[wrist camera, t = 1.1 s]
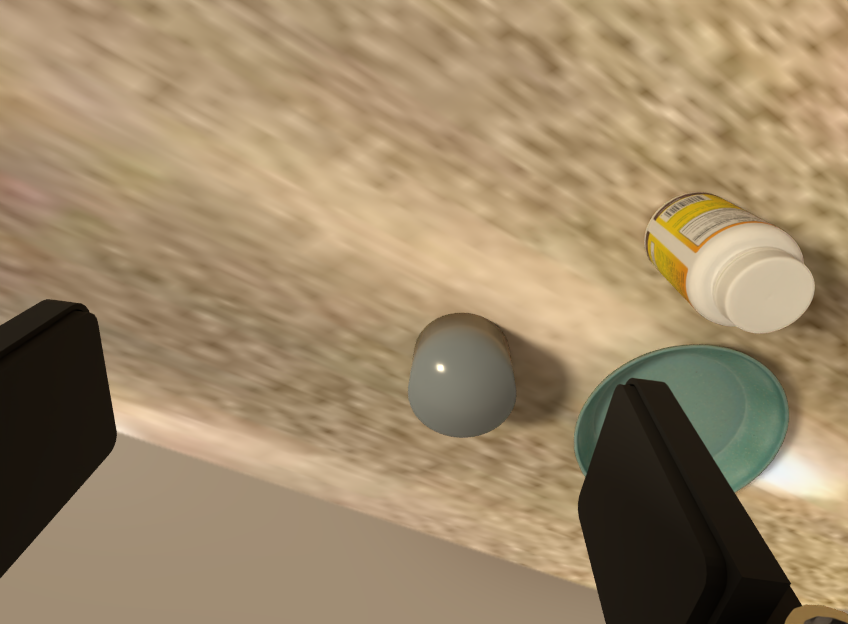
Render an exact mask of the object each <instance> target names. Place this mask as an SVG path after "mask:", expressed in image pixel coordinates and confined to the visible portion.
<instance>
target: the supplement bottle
mask: <svg viewBox="0 0 848 624" xmlns="http://www.w3.org/2000/svg"><path fill="white" fill-rule="evenodd" d="M644 244H645V250H646V254H647V256H648V258H649V260H650V262H651V263H652V264H653V266H654V267H655V268H656V269H657V270H658V271H659V272H660V273H661V274H662V275H663V276H664V277H665V278H666V279H667V280H668V281H669V282H670V283H671V284H672V286H673V287H674V288H675V289H676V290H677V291H678V292H679V293H680V294H681V295H682V296H683V297H684V298H685V299H686V300H687V301H688V302H689V303H690V305H691V306H692V307H693V308H694V309H695V310H696V311H697V312H698V313H699V314H700V315H702V316H703V317H704V318H706V319H708V320H709V321H711V322H714V323H716V324H720V325H724V326H732V327H738V328H740V329H742V330H744V331H747V332H751V333H770V332H774V331H777V330H780V329H782V328H785V327H787V326H788V325H790V324H792V323H793V322H795V321H796V320H797V319H798V318H799V317H800V316H801V315H802V314H803V313H804V312H805V311H806V310H807V308H808V307H809V305H810V303H811V301H812V299H813V296H814V291H815V283H814V278H813V275H812V273H811V272H810V270H809V269H808V268H807V266H806V265H804V260H803V255H802V252H801V250H800V247H799V246H798V244H797V243H796V241H795V240H794V239H793V238H792V237H791V236H790V235H789V234H787V233H786V232H784V231H783V230H782V229H780V228H778V227H776V226H774V225H772V224H770V223H768V222H766V221H764V220H762V219H760V218H758V217H756V216H754V215H753V214H751V213H749V212H747V211H745V210H743V209H741V208H739V207H737V206H735V205H733V204H732V203H730V202H728V201H726V200H724V199H722V198H720V197H718V196H716V195H713V194H709V193H704V192H692V193H686V194H683V195H679V196H677V197H675V198H673V199H671V200H669V201H668V202H666V203H665V204H664V205H662V206H661V207H660V208H659V209H658V210H657V211H656V213H655V214H654V215H653V216H652V218H651V220H650V221H649V224H648V226H647V229H646V232H645V238H644Z"/></svg>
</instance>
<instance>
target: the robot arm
mask: <svg viewBox="0 0 848 624" xmlns="http://www.w3.org/2000/svg"><path fill="white" fill-rule="evenodd" d="M116 436H117V431H116V425H115V419H114V413H113V408H112V402H111V396H110V390H109V384H108V378H107V373H106V367H105V361H104V355H103V349H102V343H101V338H100V332H99V326H98V321H97V318H96V317H95V315H94V314H92V313H89V310H88V309H87V307H86V306H85V305H83V304H81V303H73V302H66V301H58V300H50V299H46V300H44V301H41V302H39V303H38V304H36V305H34V306H33V307H31V308H29V309H28V310H26V311H24V312H22V313H21V314H19V315H17V316H16V317H14V318H12V319H11V320H9V321H7V322H6V323H4V324H2V325H0V578H1V577H2V576H3V575H4V573H5V572H6V571H7V570H8V569H9V568H10V567H11V565H12V564H13V563H14V562H15V561H16V560H17V559H18V558H19V556H20V555H21V554H22V553H23V552H24V551H25V550H26V548H27V547H28V546H29V545H30V544H31V543H32V542H33V541H34V539H35V538H36V537H37V536H38V535H39V534H40V533H41V531H42V530H43V529H44V528H45V527H46V526H47V525H48V523H49V522H50V521H51V520H52V519H53V518H54V517H55V515H56V514H57V513H58V512H59V511H60V510H61V509H62V508H63V506H64V505H65V504H66V503H67V502H68V501H69V500H70V498H71V497H72V496H73V495H74V494H75V493H76V492H77V490H78V489H79V488H80V487H81V486H82V485H83V484H84V482H85V481H86V480H87V479H88V478H89V477H90V476H91V474H92V473H93V472H94V471H95V470H96V469H97V468H98V466H99V465H100V464H101V463H102V462H103V461H104V460H105V459H106V457H107V456H108V455H109V454H110V453H111V451H112V449H113V447H114V445H115V442H116ZM578 514H579V519H580V523H581V527H582V531H583V535H584V539H585V543H586V547H587V551H588V555H589V559H590V563H591V567H592V571H593V575H594V579H595V583H596V587H597V591H598V594H599V598H600V602H601V606H602V610H603V614H604V618H605V622H606V624H848V614H847V613H845V612H843V611H839V610H836V609H833V608H830V607H826V606H822V605H804V606H802V605H801V603H800V601H799V600H798V598H797V596H796V595H795V593H794V592H793V590H792V588H791V587H790V584H791V583H790V581H789V580H788V578H787V576H786V575H785V573H784V572H783V570H782V568H781V567H780V565H779V563H778V562H777V560H776V559H775V557H774V555H773V554H772V552H771V551H770V549H769V547H768V546H767V544H766V543H765V541H764V539H763V538H762V536H761V535H760V533H759V531H758V530H757V528H756V526H755V525H754V523H753V522H752V520H751V518H750V517H749V515H748V514H747V512H746V510H745V509H744V507H743V506H742V504H741V502H740V501H739V499H738V497H737V496H736V494H735V493H734V491H733V489H732V488H731V486H730V485H729V483H728V481H727V480H726V478H725V477H724V475H723V473H722V472H721V470H720V469H719V467H718V465H717V464H716V462H715V460H714V459H713V457H712V456H711V454H710V452H709V451H708V449H707V448H706V446H705V444H704V443H703V441H702V440H701V438H700V436H699V435H698V433H697V431H696V430H695V428H694V427H693V425H692V423H691V422H690V420H689V419H688V417H687V415H686V414H685V412H684V411H683V409H682V407H681V406H680V404H679V403H678V401H677V399H676V398H675V396H674V394H673V393H672V391H671V390H670V388H669V386H668V385H667V384H666V383H665V382H661V381H654V380H646V379H639V378H630V379H629V380H628V381H627V382H626V384H625V385H623V384H619V385H617V386H616V388H615V390H614V392H613V395H612V398H611V401H610V404H609V407H608V410H607V413H606V417H605V420H604V423H603V426H602V429H601V432H600V435H599V438H598V441H597V444H596V447H595V450H594V453H593V456H592V459H591V462H590V465H589V468H588V471H587V474H586V477H585V480H584V483H583V486H582V489H581V492H580V495H579V501H578Z"/></svg>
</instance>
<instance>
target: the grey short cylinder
mask: <svg viewBox="0 0 848 624" xmlns="http://www.w3.org/2000/svg"><path fill="white" fill-rule="evenodd" d="M408 397H409V402H410V405H411V408H412V410H413V412H414V413H415V415H416V416H417V417H418V419H419V420H420V421H421V422H422V423H423V424H424V425H426V426H427V427H429V428H430V429H432V430H434V431H436V432H438V433H440V434H443V435H447V436H451V437H460V438H464V437H474V436H479V435H482V434H485V433H488V432H490V431H492V430H493V429H495V428H497V427H498V426H499V425H501V424H502V423H503V422H504V421H505V420H506V419H507V417H508V416H509V415H510V413H511V411H512V409H513V407H514V404H515V400H516V386H515V380H514V374H513V368H512V362H511V356H510V350H509V345H508V342H507V339H506V337H505V335H504V334H503V333H502V331H501V330H500V329H499V328H498V327H497V326H496V325H495V324H494V323H492V322H491V321H489V320H488V319H486V318H484V317H481V316H478V315H475V314H470V313H454V314H448V315H445V316H442V317H440V318H437V319H436V320H434V321H432V322H431V323H430V324H428V325H427V326H426V327H425V328H424V329H423V331H422V332H421V333H420V335H419V337H418V338H417V341H416V344H415V348H414V354H413V360H412V367H411V373H410V380H409V386H408Z"/></svg>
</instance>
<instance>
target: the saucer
mask: <svg viewBox="0 0 848 624" xmlns="http://www.w3.org/2000/svg"><path fill="white" fill-rule="evenodd" d="M630 378H639V379H646V380H654V381H661V382H665V383H666V384H667V385H668V386H669V388H670V390H671V391H672V393H673V394H674V396H675V398H676V399H677V401H678V403H679V404H680V406H681V407H682V409H683V411H684V412H685V414H686V415H687V417H688V419H689V420H690V422H691V423H692V425H693V427H694V428H695V430H696V431H697V433H698V435H699V436H700V438H701V440H702V441H703V443H704V444H705V446H706V448H707V449H708V451H709V452H710V454H711V456H712V457H713V459H714V460H715V462H716V464H717V465H718V467H719V469H720V470H721V472H722V473H723V475H724V477H725V478H726V480H727V481H728V483H729V485H730V486H731V488H732V489H733V491H734V493H735V492H736V491H738V490H740V489H741V488H743V487H744V486H746V485H747V484H749V483H750V482H751V481H752V480H754V479H755V478H756V477H757V476H759V475H760V474H761V473H762V471H763V470H765V469H766V467H767V466H768V465H769V464H770V463H771V461H772V460H773V459H774V457H775V456H776V454H777V453H778V451H779V449H780V447H781V445H782V443H783V441H784V438H785V435H786V432H787V428H788V422H789V408H788V402H787V398H786V395H785V392H784V389H783V388H782V386H781V384H780V382H779V381H778V379H777V378H776V376H775V375H774V374H773V373H772V372H771V371H770V370H769V369H768V368H767V367H766V366H765V365H763V364H762V363H760V362H759V361H757V360H756V359H754V358H752V357H750V356H749V355H746V354H744V353H742V352H739V351H736V350H733V349H729V348H725V347H720V346H713V345H680V346H673V347H668V348H663V349H659V350H655V351H652V352H649V353H646V354H644V355H641V356H639V357H637V358H635V359H633V360H631V361H629V362H627V363H626V364H624V365H622V366H621V367H619V368H618V369H616V370H615V371H613V372H612V373H611V374H610V375H608V376H607V377H606V378H605V379H604V380H603V381H602V382H601V383H600V384H599V385H598V386H597V387H596V389H595V390H594V391H593V392H592V393H591V395H590V396H589V398H588V399H587V401H586V402H585V404H584V406H583V408H582V410H581V412H580V414H579V417H578V420H577V423H576V427H575V433H574V451H575V456H576V459H577V462H578V464H579V467H580V469H581V471H582V473H583V474H584V476H585V477H586V474H587V471H588V468H589V465H590V462H591V459H592V456H593V453H594V450H595V447H596V444H597V441H598V438H599V435H600V432H601V429H602V426H603V423H604V420H605V417H606V413H607V410H608V407H609V404H610V401H611V398H612V395H613V392H614V390H615V388H616V386H617V385H619V384H623V385H625V384H626V382H627V381H628V380H629V379H630Z"/></svg>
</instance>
